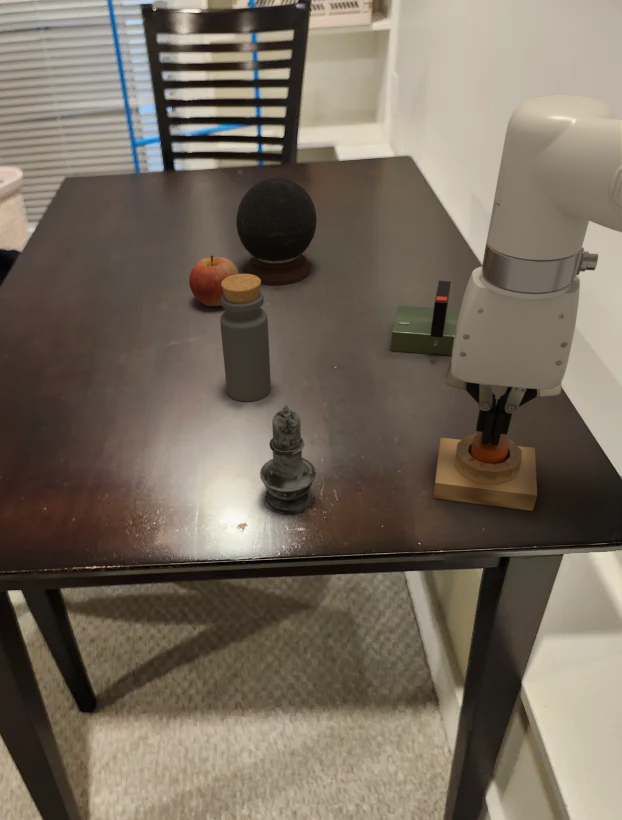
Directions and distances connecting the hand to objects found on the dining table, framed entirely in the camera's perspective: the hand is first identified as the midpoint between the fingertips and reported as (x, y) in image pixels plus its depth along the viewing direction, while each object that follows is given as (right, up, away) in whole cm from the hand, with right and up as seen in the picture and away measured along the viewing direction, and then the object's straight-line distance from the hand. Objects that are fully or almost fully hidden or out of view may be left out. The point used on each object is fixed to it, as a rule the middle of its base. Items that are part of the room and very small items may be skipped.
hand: (489, 436), depth 71 cm
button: (0, -2, +1) cm, 2 cm away
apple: (-30, +25, +40) cm, 56 cm away
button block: (+1, -4, +4) cm, 6 cm away
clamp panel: (+1, +15, +26) cm, 30 cm away
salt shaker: (-21, -6, +4) cm, 22 cm away
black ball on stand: (-20, +33, +48) cm, 61 cm away
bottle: (-25, +8, +20) cm, 33 cm away
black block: (+1, +17, +24) cm, 29 cm away
